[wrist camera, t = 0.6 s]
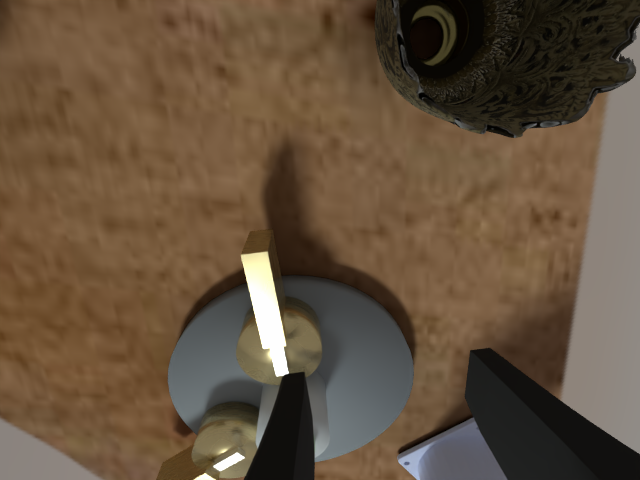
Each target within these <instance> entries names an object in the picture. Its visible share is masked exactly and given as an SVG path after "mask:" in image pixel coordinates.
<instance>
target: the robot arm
mask: <svg viewBox="0 0 640 480" xmlns="http://www.w3.org/2000/svg"><path fill="white" fill-rule="evenodd" d="M465 399H466V401H467V403H468V406H469V408H470V410H471V413H472V415H473V418H471V419H469V420H467V421H465V422H463V423H461V424H459V425H457V426H455V427H453V428H451V429H449V430H447V431H445V432H443V433H441V434H439V435H437V436H435V437H433V438H431V439H429V440H427V441H425V442H423V443H421V444H419V445H416V446H414V447H412V448H410V449H408V450H406V451H404V452H402V453H400V454H399V455H398V456H397V458H398V462H399V463H400V464H401V465H402V466H403V467H404V468H405V469H406V470H407V471H408V472H410V473H411V474H412V475H413V476H414V477H415V478H416V479H417V480H640V454H639V453H637V452H635V451H634V450H632V449H631V448H629V447H628V446H626V445H624V444H623V443H621V442H620V441H618V440H617V439H615V438H614V437H612V436H611V435H609V434H608V433H606V432H605V431H603V430H602V429H600V428H599V427H597V426H596V425H594V424H593V423H591V422H590V421H588V420H587V419H586V418H584V417H583V416H581V415H580V414H579V413H577V412H576V411H574V410H573V409H571V408H570V407H569V406H567V405H566V404H564V403H563V402H562V401H560V400H559V399H558V398H556V397H555V396H553V395H552V394H551V393H549V392H548V391H547V390H545V389H544V388H543V387H541V386H540V385H538V384H537V383H536V382H534V381H533V380H532V379H530V378H529V377H528V376H526V375H525V374H524V373H522V372H521V371H520V370H519V369H517V368H516V367H515V366H513V365H512V364H511V363H509V362H508V361H507V360H505V359H504V358H503V357H501V356H500V355H499V354H497V353H496V352H495V351H493V350H492V349H491V348H485V349H477V350H470V357H469V365H468V374H467V382H466V390H465ZM314 469H315V449H314V432H313V417H312V411H311V405H310V399H309V394H308V388H307V382H306V377H305V372H298V373H290V374H285V375H284V376H283V377H282V379H281V383H280V387H279V391H278V394H277V397H276V401H275V404H274V407H273V409H272V412H271V415H270V418H269V421H268V423H267V426H266V428H265V431H264V434H263V436H262V439H261V441H260V444H259V446H258V449H257V451H256V454H255V456H254V458H253V460H252V463H251V465H250V467H249V469H248V472H247V474H246V476H245V478H244V480H314Z"/></svg>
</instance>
